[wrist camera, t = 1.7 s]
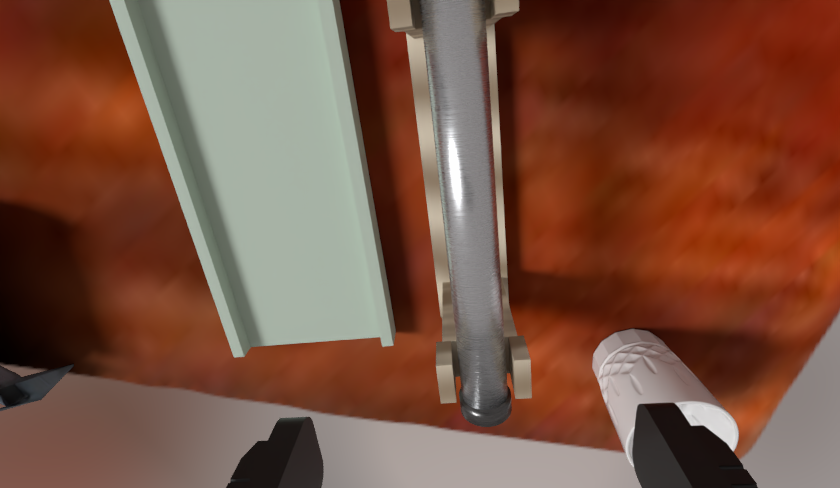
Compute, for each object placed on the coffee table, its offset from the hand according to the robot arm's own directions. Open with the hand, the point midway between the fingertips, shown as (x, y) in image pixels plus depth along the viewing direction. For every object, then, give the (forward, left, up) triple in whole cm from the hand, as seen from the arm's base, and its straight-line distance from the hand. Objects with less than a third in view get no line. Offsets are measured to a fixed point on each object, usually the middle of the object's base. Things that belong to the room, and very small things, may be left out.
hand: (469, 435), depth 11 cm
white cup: (+19, +15, -27) cm, 36 cm away
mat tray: (-1, -14, -26) cm, 30 cm away
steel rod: (-1, +1, -15) cm, 15 cm away
